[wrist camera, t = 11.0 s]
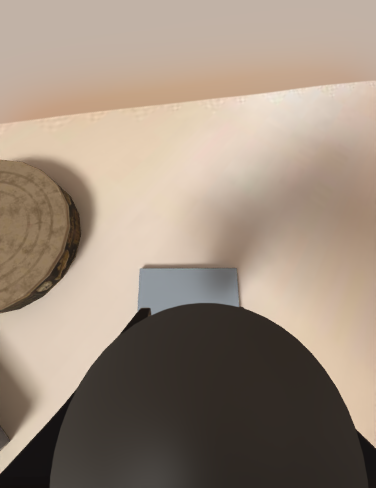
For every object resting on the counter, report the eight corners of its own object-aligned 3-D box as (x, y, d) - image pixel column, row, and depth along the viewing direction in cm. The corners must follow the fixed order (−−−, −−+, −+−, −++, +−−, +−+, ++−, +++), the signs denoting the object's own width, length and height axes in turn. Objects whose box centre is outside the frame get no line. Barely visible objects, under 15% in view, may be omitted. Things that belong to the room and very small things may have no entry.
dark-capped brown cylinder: (223, 343, 15) (442, 569, 2) (177, 368, 14) (112, 842, 2) (200, 296, 16) (262, 260, 3) (156, 318, 15) (16, 380, 3)
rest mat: (235, 268, 22) (236, 268, 21) (242, 374, 19) (243, 377, 19) (141, 269, 22) (139, 268, 21) (135, 376, 19) (134, 378, 19)
